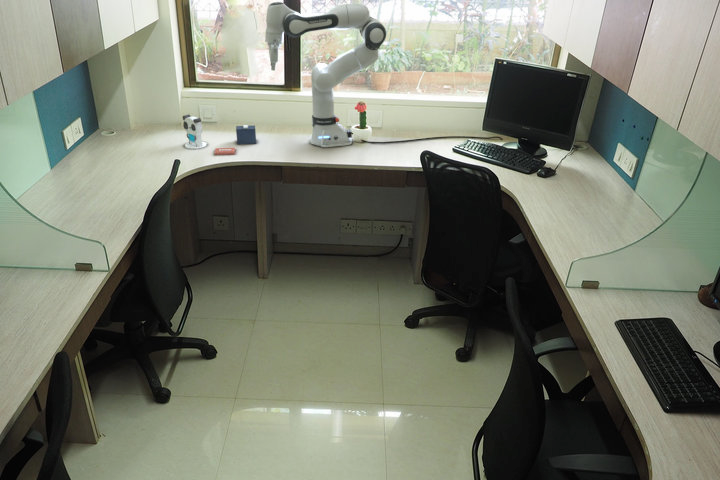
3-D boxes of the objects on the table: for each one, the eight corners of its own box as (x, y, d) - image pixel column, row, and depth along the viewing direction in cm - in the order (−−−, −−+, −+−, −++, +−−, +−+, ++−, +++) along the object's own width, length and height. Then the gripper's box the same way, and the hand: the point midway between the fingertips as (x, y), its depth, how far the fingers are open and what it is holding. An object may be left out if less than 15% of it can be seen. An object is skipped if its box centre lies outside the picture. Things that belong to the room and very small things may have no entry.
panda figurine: (179, 145, 326) (175, 116, 317) (197, 140, 332) (194, 112, 324) (193, 150, 319) (189, 121, 311) (211, 145, 326) (207, 116, 317)
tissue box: (256, 140, 333) (255, 124, 328) (256, 143, 328) (255, 127, 323) (237, 140, 332) (236, 124, 327) (237, 144, 327) (235, 128, 322)
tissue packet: (235, 149, 320) (234, 147, 319) (234, 154, 314) (234, 151, 313) (215, 150, 319) (215, 147, 318) (215, 155, 313) (214, 152, 312)
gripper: (281, 43, 292) (279, 73, 299) (279, 35, 309) (278, 64, 316) (268, 41, 291) (266, 72, 298) (267, 34, 308) (265, 63, 315)
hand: (272, 68), depth 308 cm, fingers open, 8 cm apart
